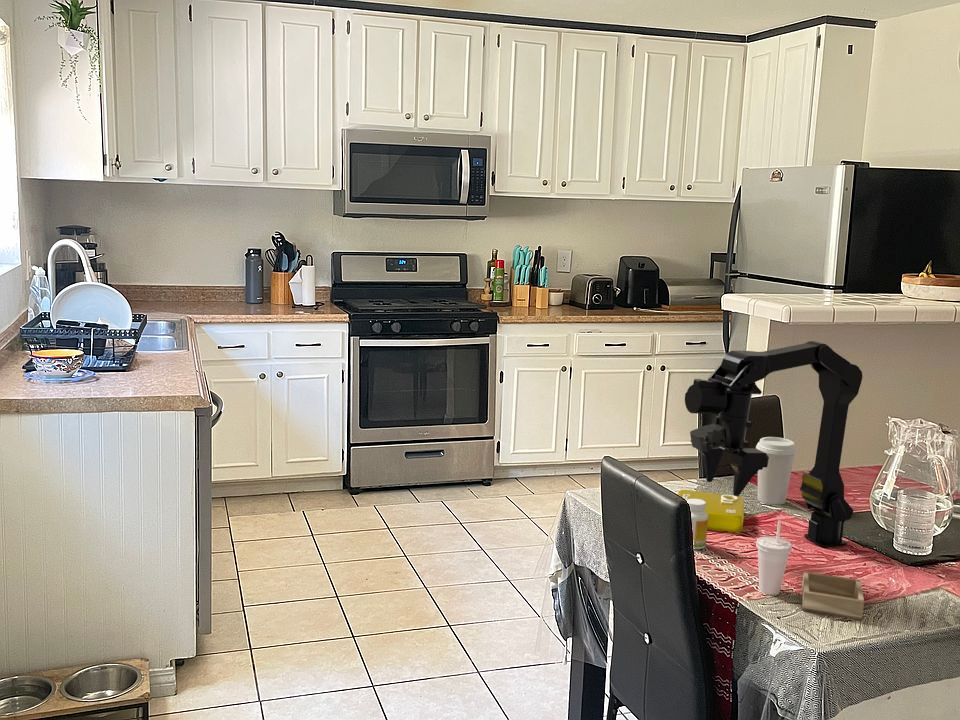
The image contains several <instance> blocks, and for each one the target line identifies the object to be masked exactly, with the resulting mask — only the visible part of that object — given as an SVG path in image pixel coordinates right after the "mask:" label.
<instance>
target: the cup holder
mask: <svg viewBox="0 0 960 720" xmlns="http://www.w3.org/2000/svg"><path fill="white" fill-rule="evenodd" d="M802 574H803V576H802V585H801V605H802V607H801V609H802V610H801V611H802V612H808V613H816V614H820V615H827V616H833V617H839V618H844V619H845V618H846V619H850V620H851V619H852V620H856V621H863V617H864V616H863V615H864V605H865V599H864V593H863V590H862V581H861V579H856V578H851V577H850V578H849V577H845V576H844V577H843V576H839V575H838V576H837V575H830V574H823V573H816V572H811V571H804V570H803V573H802Z"/></svg>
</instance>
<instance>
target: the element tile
mask: <svg viewBox="0 0 960 720" xmlns="http://www.w3.org/2000/svg"><path fill="white" fill-rule="evenodd" d="M677 495H679V496H681V497H683V498H684V499H685V500H686V501H687V500H688V499H700V500H703V501H705V502H706V508H705V510H704V511H706V512H707V514H708V526H707V531H708V530H710V531H715V530H717V532H723V531H728V532H727V533H731V532H740V533H742V532H743V528H744V518H745V513H744V512H745V510H744V509H745V508H744V507H745V505H744V504H745V502H744V501H745V499H744V498H743V497H742V496H741V495H739V496H734V495H733V494H725V493H716V492H707V491H701V490H700V491H698V490H691V489H681V490H678V492H677ZM741 531H742V532H741Z"/></svg>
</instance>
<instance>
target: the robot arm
mask: <svg viewBox="0 0 960 720" xmlns="http://www.w3.org/2000/svg"><path fill="white" fill-rule="evenodd" d="M724 355H725V356H724V357H723V358H722V361H721V362H720V363H719V365H718V366H717V367H716V368H715V369H714V371H713V372H712V373H711V374H710V375H709V376H708V378H707V379H701V378H694V379H693V384H692V385H690V386H689V387H688V388H687V390H686V392H685V395H684V404H685V407H686V410H687V411H688V412H689V413H690V414H699V415H700V414H705V415H713V418H712V420H711V424H706V425H703V426H700V427H697V428H696V429H692V430H690V432H689V435H690V443H691V447H692V448H695V449H696V450H697V451H698V452H699V453H700V455H701V457H702V461H703V466H704V468H703V469H704V473H705V478H706V482H708V483H712V482H713V481H714V479H715V476H716V474H717V471H718V468H719V465H720V463H721V460H722V457H723V455H724V452H726V453H729V454H730V455H731V460H732V462H730V463H729V464H730V466H731V467H732V469H733V471H734V476H733V477H734V478H733V485H732V486H733V488H732V489H733V491H732V493H733V494H732V495H734V496H741V494H742V492H744V489H745V488H747V487H746V486H747V485H748V484H749V483H750V481H751V480H752V479H753V477H754V476H755V475H756V474H758V471H759V470H762V469H763V467H768V461H769V457H768V455H767V454H766V453H765V452H762V451H760V450H758V449H756V447H753V448H752V447H750V448H749V445H750V444H749V443H750V442H749V441H747V440H746V433H747V428H752V425H753V421H750V420H749V414H750V408H751V402H752V401H751V400H752V395H761V394H762V390H761V389H760V388H759V386H757V384H756V382H759V381H762V380H764V379H765V378H766V377H767V376H768V375H769V374H772V373H775V372H779V371H784V370H788V369H794V368H798V367H803V366H808V365H810V368H811V369H812V370H813V371H815V373H816V374H818V389H819V391H820V394H821V397H822V400H823V403H822V404H823V405H822V412H821V420H820V425H819V431H818V432H819V433H818V439H817V447H816V455H815V461H814V466H813V468H811V470H810V471H809V472H807V473H806V472H803V474H802V476H801V478H802V479H801V480H802V481H801V485H800V488H799V491H800V492H801V498H802V499H803V500H804V501H805V507H806V509H808V510H810V511H811V513H810V514H811V515H810V519H809V520H808V529H807V533H804V538H806V539H807V540H809V541H811V542H812V543H814V544H816V545H818V546H819V547H822V548H826V547H828V548H829V547H837V546H838V547H840V546H847V545H848V542H847V541H845V540H843V536H844V526H845V522H846V521H849V520H851V519H852V517H853V513H854V509H853V508H852V507H851V505H850V504H849V503H848V502H847V500H846V499H845V484H844V481H843V478H842V475H841V472H840V467H841V459H842V452H843V446H844V439H845V433H846V425H847V419H848V413H849V406H850V404H851V403H852V402H853V401H854V400H855V398H856V397H857V395H858V394H859V391H860V388H861V384H862V381H863V371H862V369H860V367H859V366H858V365H856V364H853V363H851V362H850V361H849V360H847V359H846V358H844V357H843V356H841V355H840V354H838V353H837V352H835V351H834V350H833V348H832V347H831V346H829V345H828V344H826V343H823V342H820V341H814V340H809V341H807V342H804V343H800V344H795V345H790V346H785V347H780V348H774V349H769V350H765V351H754V350H731V351H728V352H726V353H725V354H724Z"/></svg>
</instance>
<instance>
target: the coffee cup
mask: <svg viewBox="0 0 960 720" xmlns="http://www.w3.org/2000/svg"><path fill="white" fill-rule="evenodd" d="M795 445H796V444H795V442H794V441H793V440H791V439H787V438H783V437H777V436H766V437H761V438H760V439H759V441H758V442H757V444H756V446H755V448H756V449H758V450H760V451H762V452H765V453H766V454H767V455H768V457H769V461H768V467H763V469H762V470H759V471H758V472H757V500H758V501H759V502H761V503H764V504H765V505H772V506H780V505H785V503H786V501H787V500H786V499H787V495H788V490H789V486H790V485H789V484H790V480H791V474H792V470H793V465H794V464H793V463H794V461H795V460H794V459H795V455H796V454H798V449H797V446H795Z"/></svg>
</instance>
